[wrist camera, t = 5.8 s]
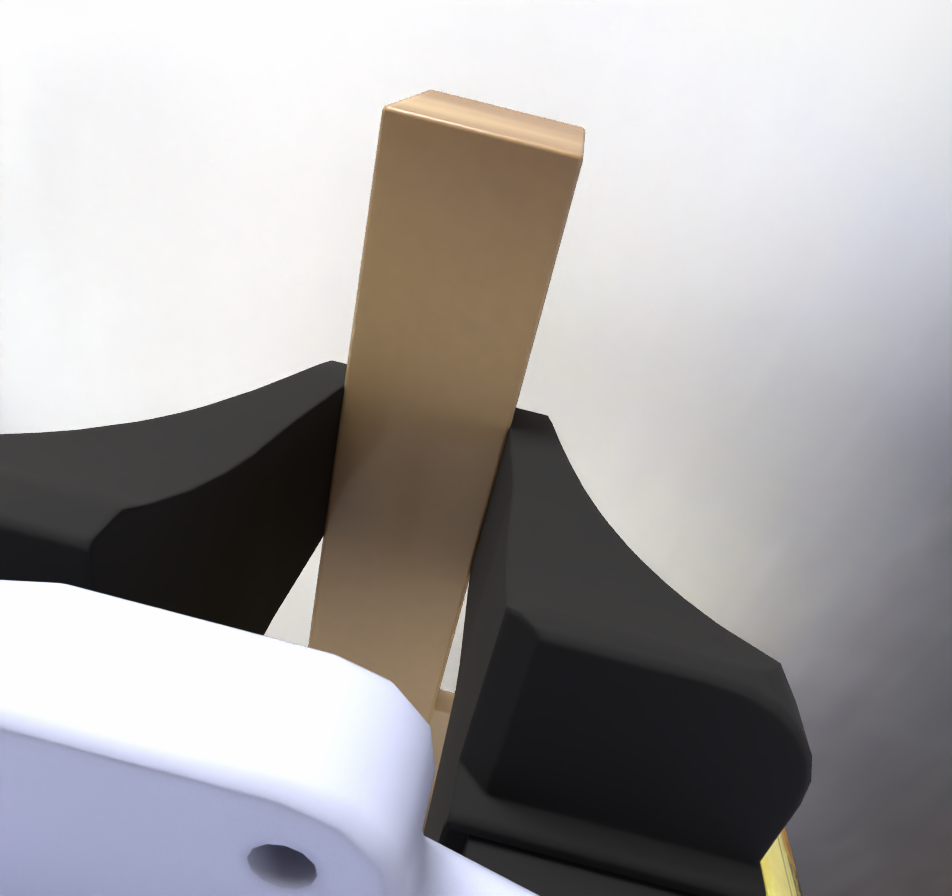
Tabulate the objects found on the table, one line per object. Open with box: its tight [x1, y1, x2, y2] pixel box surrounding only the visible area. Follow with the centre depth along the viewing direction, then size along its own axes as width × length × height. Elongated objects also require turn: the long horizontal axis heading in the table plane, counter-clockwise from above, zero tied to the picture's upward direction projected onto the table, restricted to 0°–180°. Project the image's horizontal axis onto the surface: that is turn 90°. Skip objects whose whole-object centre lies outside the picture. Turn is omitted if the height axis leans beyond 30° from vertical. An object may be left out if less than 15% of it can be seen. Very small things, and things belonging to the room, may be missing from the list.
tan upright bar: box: [308, 90, 585, 833], centre depth 15 cm, size 20×6×3 cm, turn 167°
